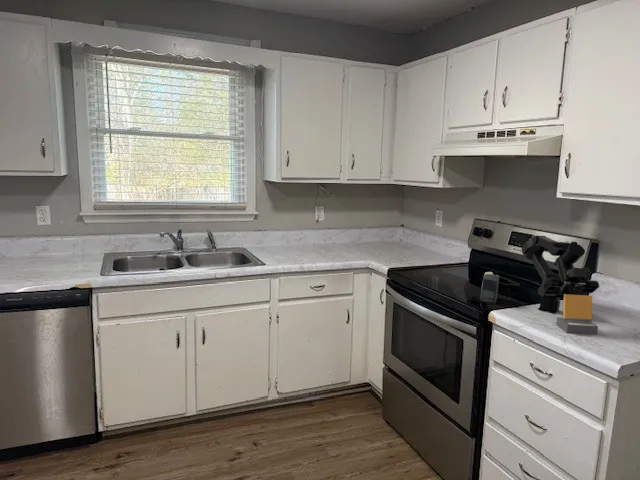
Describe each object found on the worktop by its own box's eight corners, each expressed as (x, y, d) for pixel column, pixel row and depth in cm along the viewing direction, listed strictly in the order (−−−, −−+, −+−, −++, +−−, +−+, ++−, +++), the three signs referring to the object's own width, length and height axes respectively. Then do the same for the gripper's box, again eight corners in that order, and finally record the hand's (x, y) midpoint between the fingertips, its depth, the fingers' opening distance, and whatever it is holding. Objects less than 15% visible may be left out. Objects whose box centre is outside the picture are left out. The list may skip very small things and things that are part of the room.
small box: (482, 295, 211) (484, 273, 209) (497, 297, 208) (500, 275, 206) (479, 301, 201) (482, 278, 199) (495, 303, 199) (498, 280, 197)
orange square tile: (562, 319, 172) (563, 294, 172) (590, 321, 171) (591, 295, 172) (564, 320, 170) (564, 294, 171) (592, 321, 170) (592, 295, 171)
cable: (512, 279, 245) (513, 273, 245) (521, 287, 229) (522, 281, 229) (482, 276, 247) (483, 270, 247) (489, 285, 231) (490, 278, 231)
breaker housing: (556, 324, 176) (557, 316, 175) (584, 326, 176) (586, 318, 175) (566, 332, 168) (567, 324, 167) (596, 334, 168) (598, 326, 167)
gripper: (551, 257, 174) (561, 294, 165) (601, 260, 174) (613, 297, 165) (539, 272, 183) (548, 307, 175) (586, 274, 183) (597, 310, 174)
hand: (576, 305), depth 172 cm, fingers closed, pressing on orange square tile
